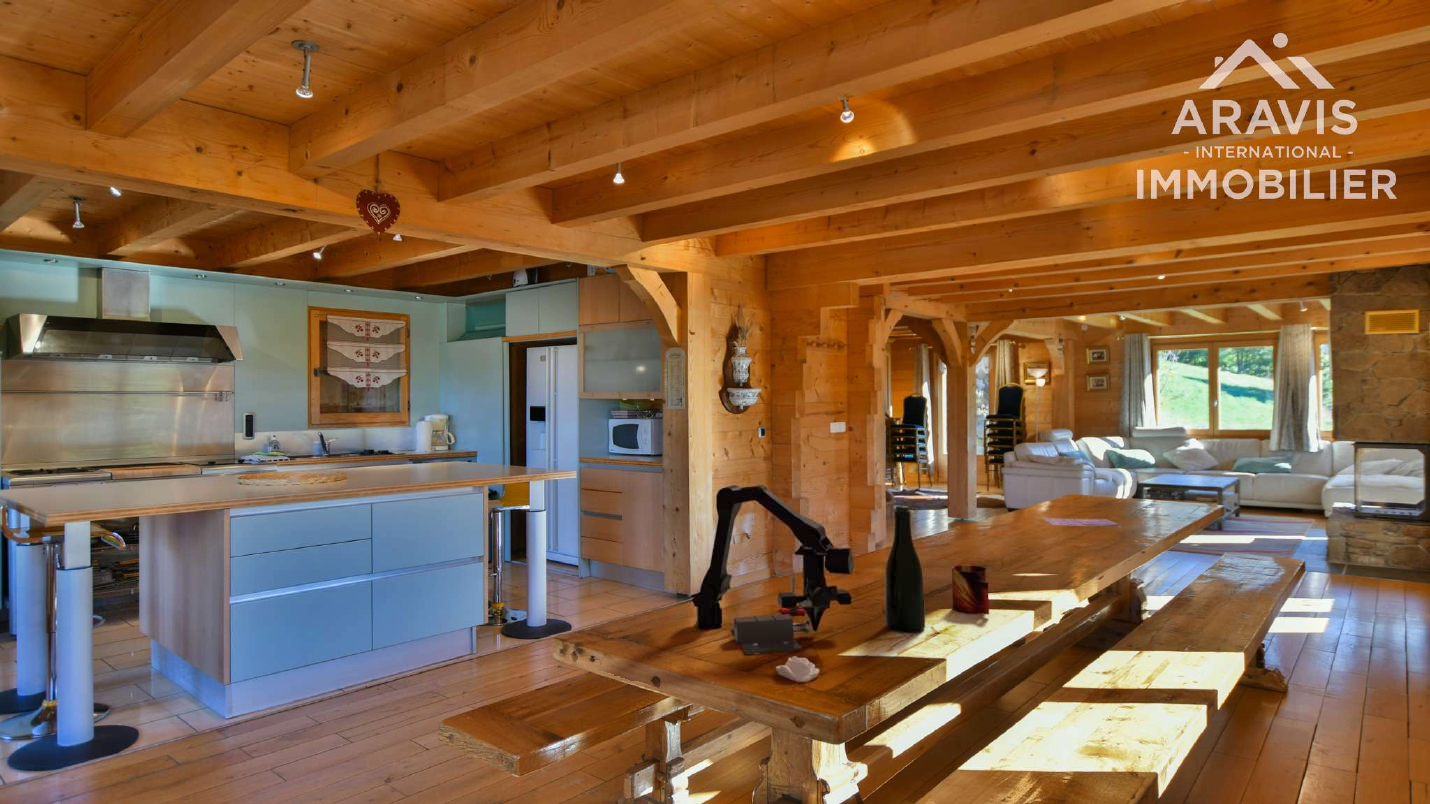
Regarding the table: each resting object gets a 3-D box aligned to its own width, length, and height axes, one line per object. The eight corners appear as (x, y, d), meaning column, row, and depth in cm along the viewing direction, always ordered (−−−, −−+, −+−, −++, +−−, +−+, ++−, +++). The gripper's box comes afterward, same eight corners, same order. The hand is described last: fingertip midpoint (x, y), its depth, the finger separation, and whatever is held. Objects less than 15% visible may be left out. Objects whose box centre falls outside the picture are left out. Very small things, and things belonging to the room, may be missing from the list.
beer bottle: (926, 623, 219) (923, 504, 219) (924, 634, 209) (920, 509, 209) (887, 621, 222) (884, 503, 222) (883, 632, 212) (880, 508, 212)
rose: (771, 662, 177) (778, 648, 187) (771, 682, 177) (779, 667, 187) (816, 664, 175) (821, 651, 184) (816, 684, 175) (822, 670, 184)
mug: (987, 619, 222) (986, 576, 222) (946, 609, 233) (944, 568, 233) (1007, 612, 228) (1006, 570, 228) (965, 603, 239) (964, 563, 239)
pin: (753, 639, 206) (753, 626, 206) (751, 635, 209) (751, 622, 209) (810, 635, 208) (809, 622, 208) (807, 631, 211) (806, 619, 211)
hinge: (743, 655, 196) (742, 631, 196) (729, 629, 218) (728, 608, 218) (801, 651, 198) (801, 627, 198) (782, 625, 220) (781, 605, 220)
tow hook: (781, 608, 241) (779, 615, 232) (780, 565, 242) (778, 570, 232) (809, 608, 240) (808, 615, 230) (808, 565, 240) (807, 570, 231)
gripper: (785, 580, 201) (787, 642, 201) (857, 576, 203) (858, 637, 203) (776, 571, 212) (777, 629, 212) (844, 567, 214) (845, 625, 214)
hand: (814, 631), depth 210 cm, fingers closed
